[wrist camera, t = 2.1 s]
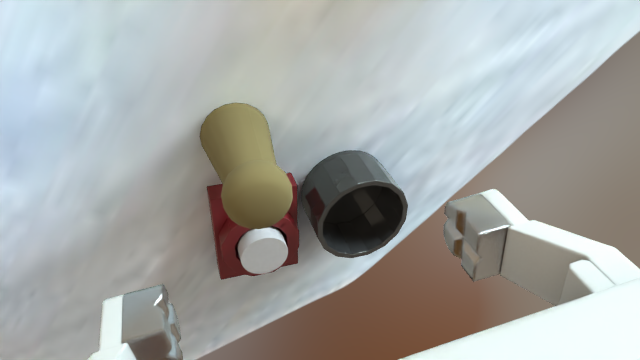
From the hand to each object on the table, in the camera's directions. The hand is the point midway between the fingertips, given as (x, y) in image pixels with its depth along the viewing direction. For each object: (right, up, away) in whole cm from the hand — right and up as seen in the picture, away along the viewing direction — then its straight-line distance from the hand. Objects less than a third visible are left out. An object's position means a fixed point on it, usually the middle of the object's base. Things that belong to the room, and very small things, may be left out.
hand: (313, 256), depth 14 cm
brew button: (-5, -4, +33) cm, 34 cm away
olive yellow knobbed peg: (-7, +6, +30) cm, 31 cm away
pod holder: (+3, +1, +37) cm, 37 cm away
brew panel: (-7, -2, +36) cm, 36 cm away
